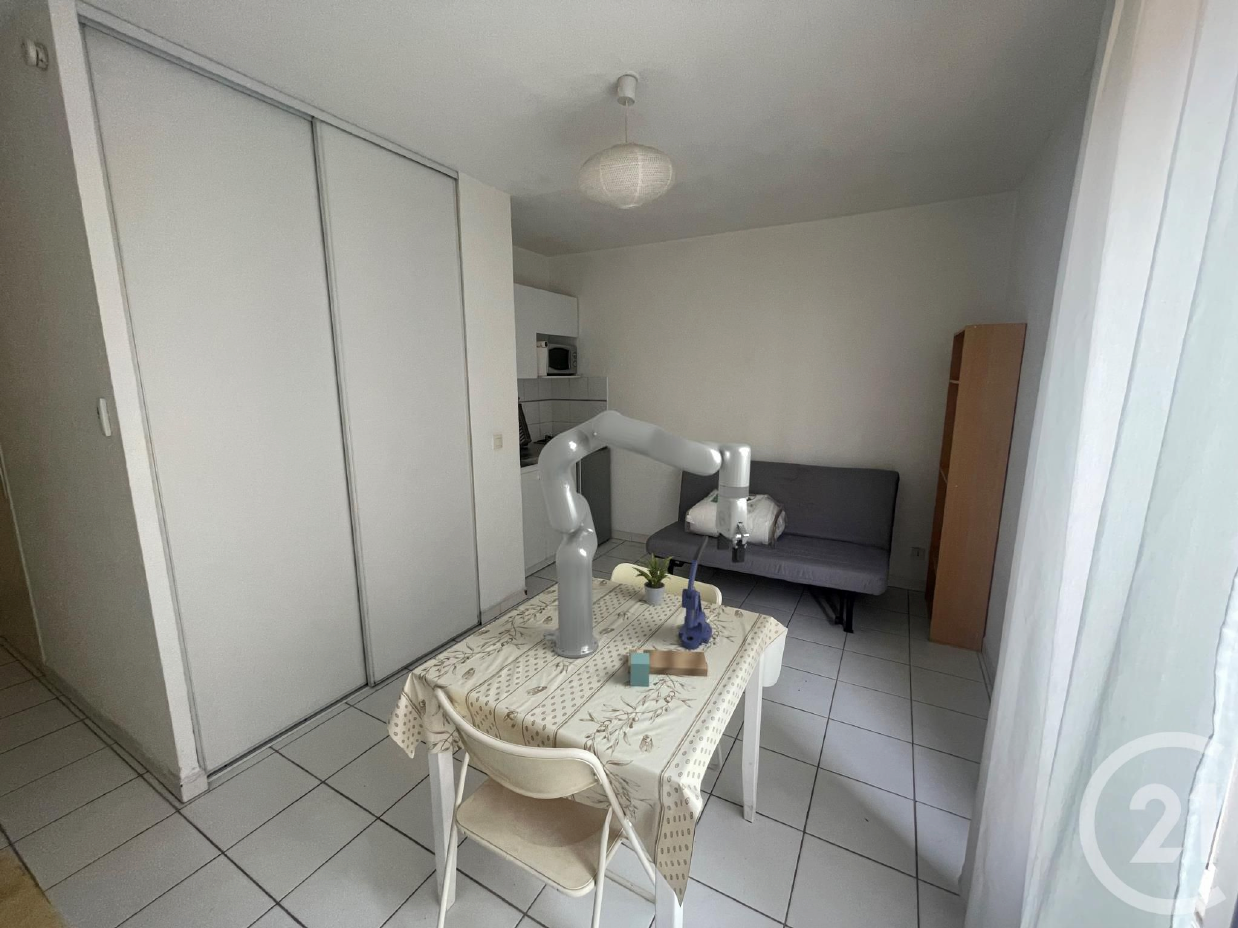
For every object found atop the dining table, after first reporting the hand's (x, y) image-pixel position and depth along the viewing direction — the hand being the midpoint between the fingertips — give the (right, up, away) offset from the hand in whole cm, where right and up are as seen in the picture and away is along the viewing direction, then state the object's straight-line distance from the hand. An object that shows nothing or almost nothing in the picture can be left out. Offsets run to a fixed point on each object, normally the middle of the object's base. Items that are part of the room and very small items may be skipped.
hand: (730, 555), depth 130 cm
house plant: (-17, -23, +38) cm, 47 cm away
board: (-17, -29, 0) cm, 33 cm away
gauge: (-24, -29, -4) cm, 38 cm away
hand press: (-7, -27, +15) cm, 31 cm away
